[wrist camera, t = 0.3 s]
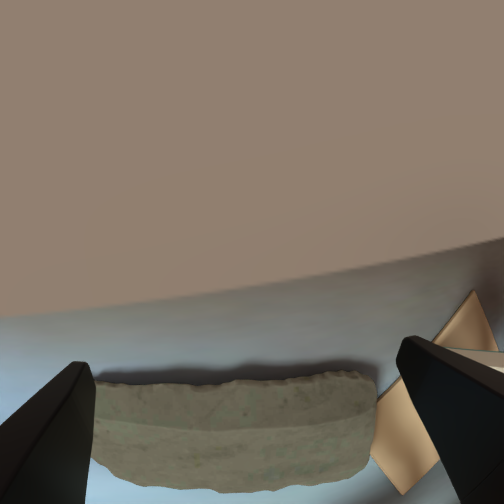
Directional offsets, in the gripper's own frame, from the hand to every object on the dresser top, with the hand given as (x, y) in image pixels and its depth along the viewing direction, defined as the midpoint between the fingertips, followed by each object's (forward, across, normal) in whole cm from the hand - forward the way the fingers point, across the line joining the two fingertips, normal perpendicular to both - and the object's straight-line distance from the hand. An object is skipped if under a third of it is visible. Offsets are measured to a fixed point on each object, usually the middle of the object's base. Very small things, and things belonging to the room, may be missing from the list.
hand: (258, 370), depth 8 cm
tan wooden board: (+7, -21, +15) cm, 27 cm away
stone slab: (+8, 0, +14) cm, 16 cm away
